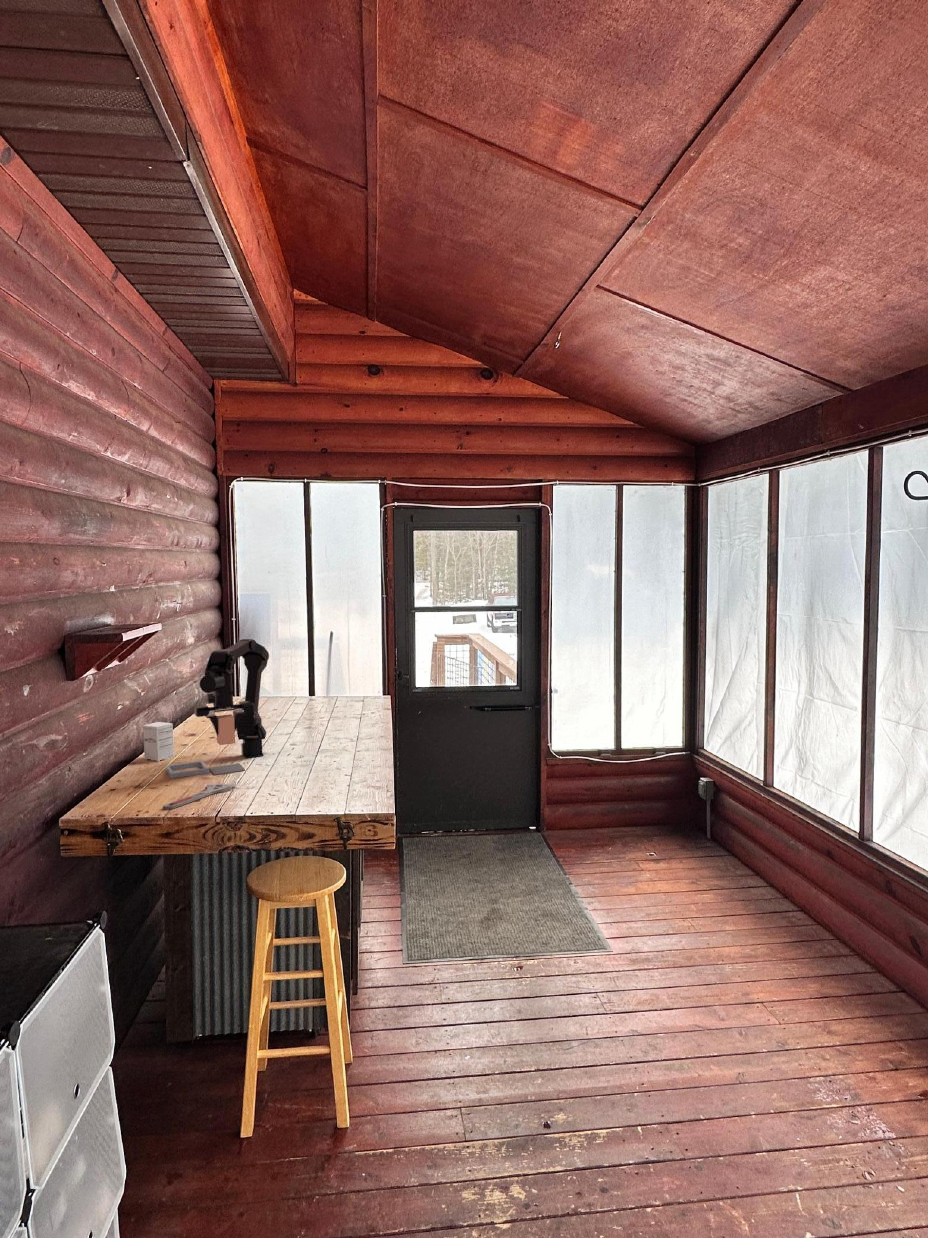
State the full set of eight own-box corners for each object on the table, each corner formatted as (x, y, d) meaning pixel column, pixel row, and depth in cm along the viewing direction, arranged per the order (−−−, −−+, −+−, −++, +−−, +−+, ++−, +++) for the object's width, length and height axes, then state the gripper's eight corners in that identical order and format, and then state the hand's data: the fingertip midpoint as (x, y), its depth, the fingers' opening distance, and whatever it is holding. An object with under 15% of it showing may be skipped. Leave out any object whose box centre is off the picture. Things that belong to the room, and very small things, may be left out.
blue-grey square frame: (202, 765, 254) (202, 761, 254) (208, 773, 244) (208, 768, 243) (166, 770, 248) (166, 766, 248) (171, 778, 238) (171, 773, 238)
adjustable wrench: (150, 808, 210) (150, 801, 209) (225, 784, 231) (224, 777, 231) (168, 813, 205) (168, 806, 205) (242, 788, 227) (242, 781, 226)
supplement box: (143, 759, 263) (142, 725, 262) (160, 755, 270) (159, 721, 269) (157, 762, 260) (156, 726, 259) (174, 757, 266) (173, 722, 266)
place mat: (239, 764, 254) (239, 763, 254) (245, 770, 245) (245, 769, 245) (209, 768, 249) (209, 767, 249) (214, 775, 240) (214, 774, 240)
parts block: (232, 740, 250) (231, 714, 249) (235, 743, 246) (234, 716, 245) (217, 742, 248) (215, 716, 247) (219, 745, 243) (218, 718, 243)
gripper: (246, 682, 257) (248, 726, 258) (190, 687, 248) (192, 732, 249) (253, 686, 247) (255, 732, 248) (195, 692, 238) (198, 739, 239)
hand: (225, 733), depth 247 cm, fingers closed on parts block, 5 cm apart
